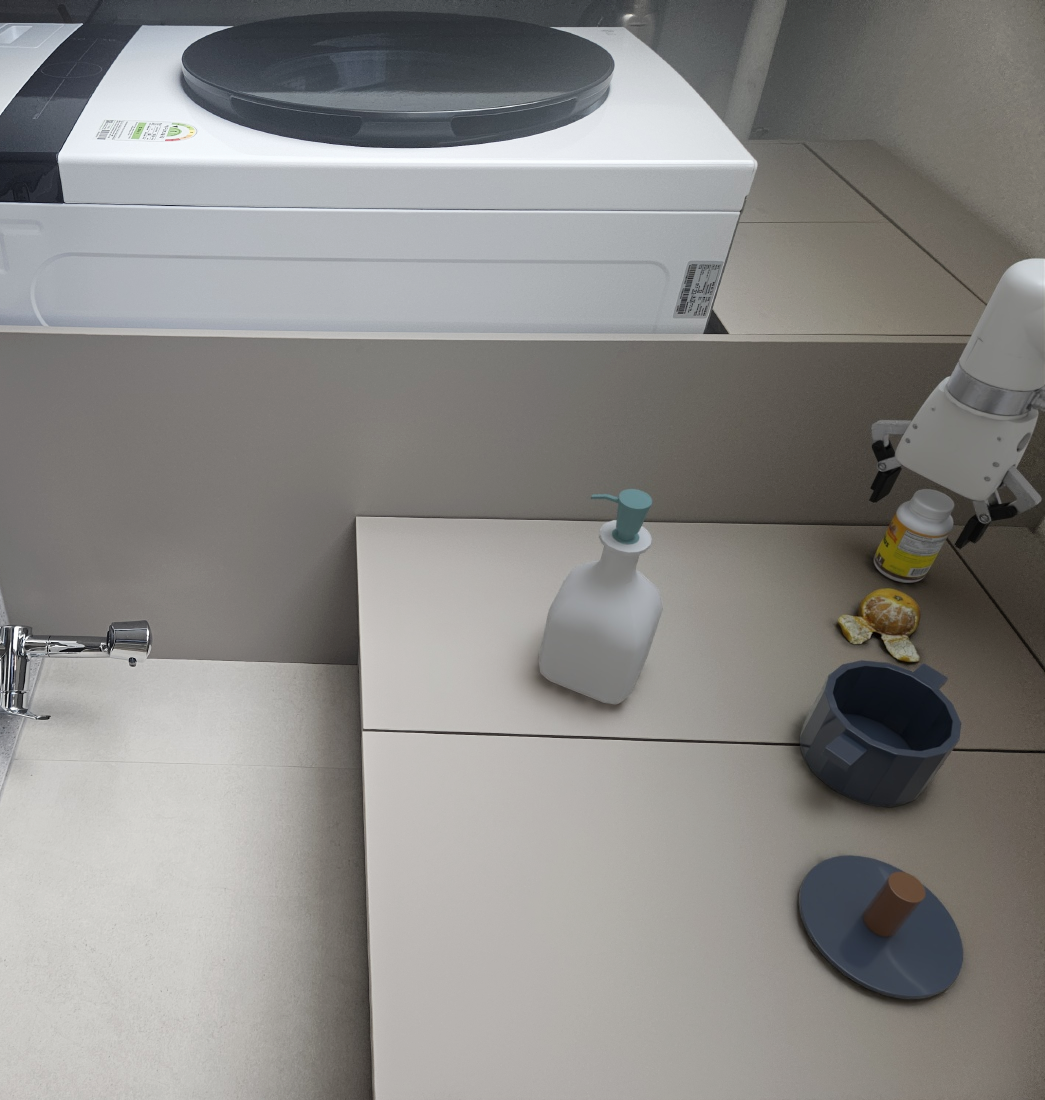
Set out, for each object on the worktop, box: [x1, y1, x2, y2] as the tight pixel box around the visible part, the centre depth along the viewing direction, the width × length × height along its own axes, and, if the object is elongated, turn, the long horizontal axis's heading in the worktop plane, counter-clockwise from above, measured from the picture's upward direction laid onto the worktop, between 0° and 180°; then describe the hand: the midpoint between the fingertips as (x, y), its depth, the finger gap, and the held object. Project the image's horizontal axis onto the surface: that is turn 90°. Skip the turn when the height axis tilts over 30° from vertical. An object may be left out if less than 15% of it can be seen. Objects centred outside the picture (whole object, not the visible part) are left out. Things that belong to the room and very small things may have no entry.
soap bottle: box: [538, 488, 664, 705], centre depth 92 cm, size 10×10×23 cm
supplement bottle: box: [873, 488, 955, 584], centre depth 107 cm, size 6×6×10 cm
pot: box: [799, 659, 962, 807], centre depth 88 cm, size 11×16×8 cm
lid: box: [798, 854, 964, 1000], centre depth 76 cm, size 12×12×7 cm
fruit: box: [837, 587, 922, 663], centre depth 102 cm, size 8×8×4 cm
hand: (919, 519), depth 106 cm, fingers open, 9 cm apart
